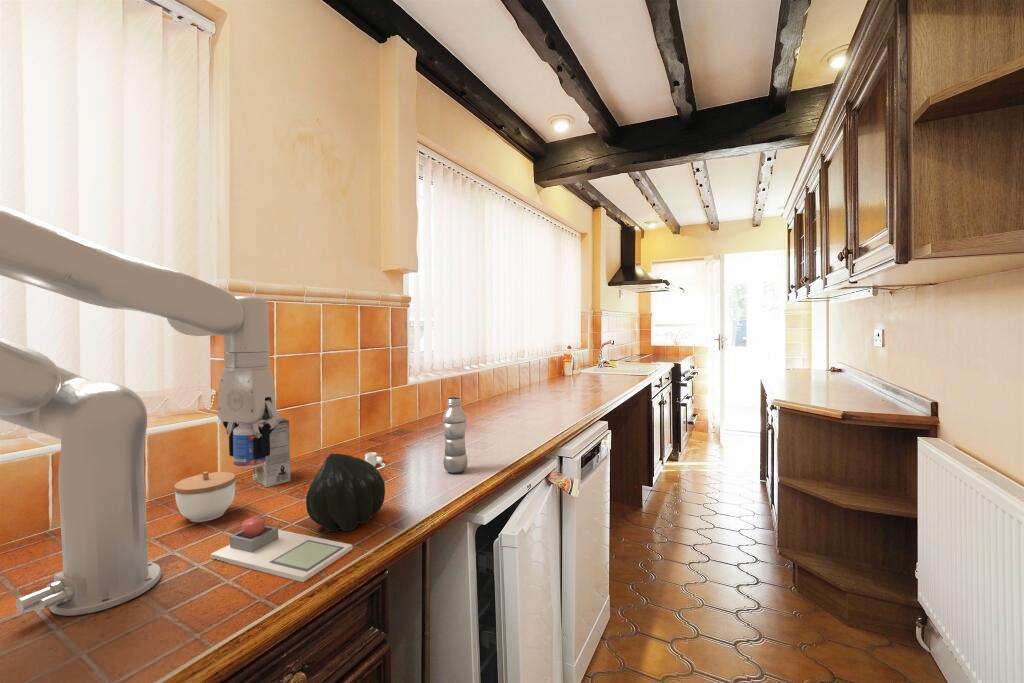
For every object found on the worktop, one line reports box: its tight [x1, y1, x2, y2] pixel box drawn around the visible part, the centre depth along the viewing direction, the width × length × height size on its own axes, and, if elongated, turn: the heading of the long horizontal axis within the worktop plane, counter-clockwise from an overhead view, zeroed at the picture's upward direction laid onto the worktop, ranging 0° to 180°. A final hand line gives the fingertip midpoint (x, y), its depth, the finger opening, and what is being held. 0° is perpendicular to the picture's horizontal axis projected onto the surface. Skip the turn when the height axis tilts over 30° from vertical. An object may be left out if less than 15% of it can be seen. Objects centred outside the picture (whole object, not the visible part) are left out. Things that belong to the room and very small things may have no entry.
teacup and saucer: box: [364, 452, 387, 471], centre depth 128 cm, size 9×8×4 cm
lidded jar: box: [173, 471, 237, 523], centre depth 96 cm, size 11×11×9 cm
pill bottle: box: [232, 419, 266, 470], centre depth 87 cm, size 6×5×10 cm
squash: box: [305, 452, 386, 532], centre depth 91 cm, size 14×15×15 cm
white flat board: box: [210, 525, 354, 583], centre depth 79 cm, size 11×21×3 cm, turn 68°
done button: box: [241, 516, 267, 537], centre depth 81 cm, size 4×4×2 cm
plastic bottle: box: [442, 396, 469, 474], centre depth 122 cm, size 6×7×20 cm
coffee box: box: [251, 417, 291, 488], centre depth 117 cm, size 9×6×16 cm
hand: (249, 454), depth 87 cm, fingers closed on pill bottle, 5 cm apart
